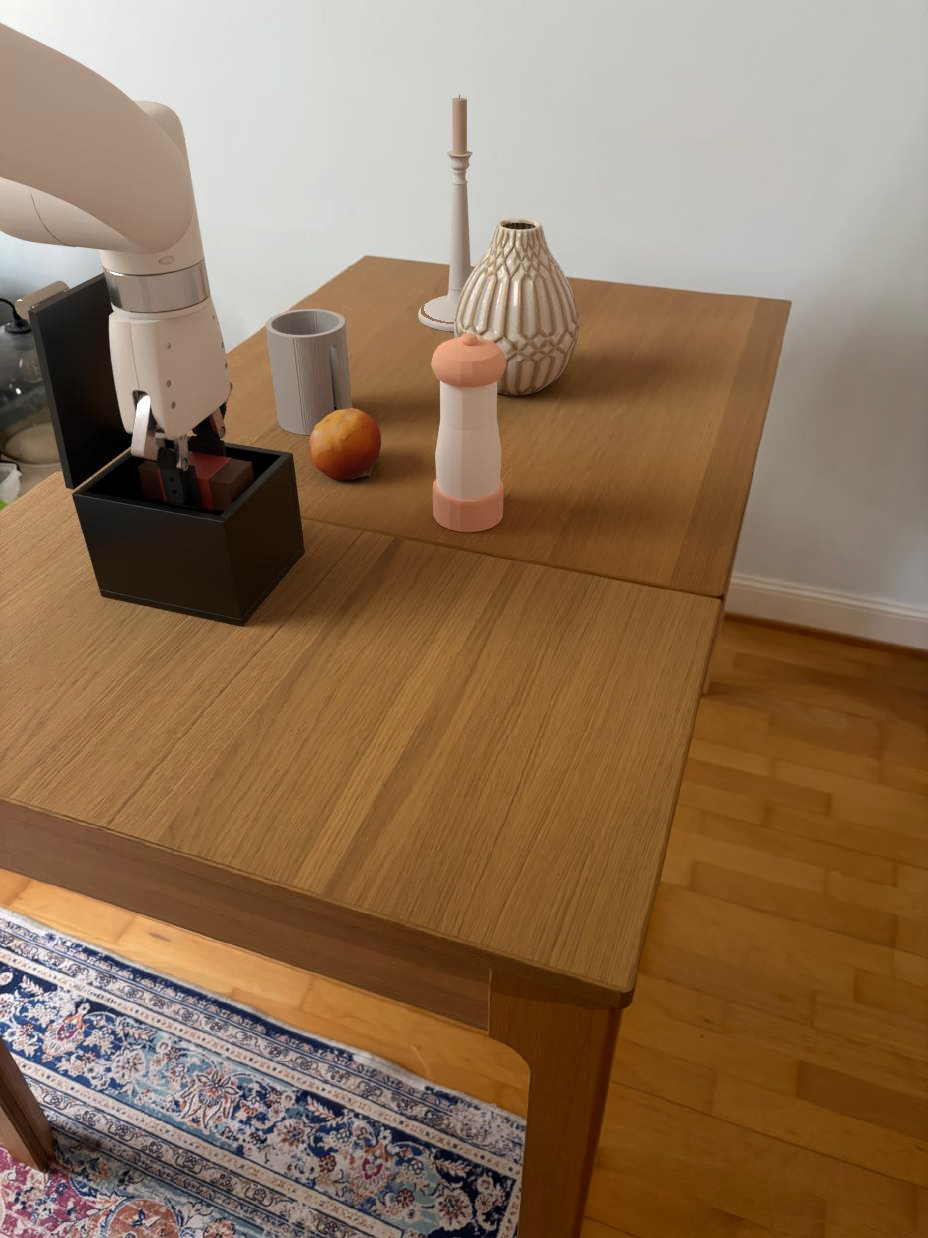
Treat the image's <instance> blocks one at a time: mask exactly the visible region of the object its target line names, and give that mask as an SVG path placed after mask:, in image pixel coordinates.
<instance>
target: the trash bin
mask: <svg viewBox="0 0 928 1238" xmlns="http://www.w3.org/2000/svg"><path fill="white" fill-rule="evenodd" d="M189 437H190V435H189V436H188V435H187V442H188V451H191V446H190V440H189ZM224 444H225V449H226V455H227V457H228V458H232V459H236V460H242V461H248V462H252V468H253V474H254V481H255V482H254V483H253V484H252V485H251V486H250V487H249V488H248V489H247V490H246V491H245V492H244V493H243V494H242V495H240V496H239V497H238V498H237V499H236V500H235V501H234V502H233V503H232V504H231V505H230V506H229V507H228V508H227V509H226V510H225V511H218V510H208V509H203V508H198V509H192V508H187V507H181V506H176V505H171V504H169V503H168V502H165V501H163V500H158V499H152V498H147V497H145V496H144V492H143V488H142V484H141V480H140V475H139V471H138V467H139V466H140V465H141V464H143V463H144V462H145V461H146V460H148V459H144V458H140V457H135V456H132V454H131V448H129V450H126V451H125V452H124V454H123V453H122V454H121V455H120V457H119V456H118V457H117V459H116V460H113V461H112V462H111V463H109V464H108V465H107V467H106V466H105V467H104V469H103V470H102V469H101V470H100V471H99V473H96V475H94V476H92V477H91V478H90V479H88V480H87V481H86V482H84V483H83V485H82V486H81V485H80V486H79V487H78V489H75V491H73V492H72V493H71V498H72V500H73V503H74V507H75V511H76V515H77V518H78V522H79V524H80V528H81V532H82V535H83V539H84V542H85V545H86V549H87V552H88V556H89V559H90V563H91V566H92V570H93V573H94V576H95V581H96V583H97V587H98V589H99V593H100V596H101V597H102V598H108V599H112V600H117V601H120V602H126V603H131V604H135V605H140V606H145V607H149V608H155V609H158V610H164V611H167V612H168V611H169V612H173V613H176V614H177V613H178V614H182V615H187V616H192V617H196V618H200V619H205V620H211V621H215V622H219V623H225V624H229V625H233V626H238V627H243V626H244V625H245V624H246V623H247V622H248V621H249V619H250V618H251V617H252V616H253V615H254V614H255V612H256V611H257V610H258V609H259V608H260V606H261V605H262V604H263V603H264V601H265V600H266V599H267V598H268V597H269V595H271V593H272V592H273V591H274V590H275V588H276V587H277V586H278V585H279V584H280V583H281V581H282V580H283V579H284V578H285V577H286V576H287V574H288V573H289V572H290V570H291V569H292V568H294V566H295V564H297V562H298V561H299V560H300V559H301V557H302V556H303V555H304V554H305V553H306V549H305V541H304V540H305V539H304V533H303V532H304V531H303V523H302V515H301V509H300V508H301V507H300V499H299V492H298V484H297V476H296V469H295V460H294V454H293V452H288V451H281V450H276V449H271V448H264V447H258V446H251V445H245V444H238V443H232V442H226V441H224ZM165 447H166V448H169V449H174V441H170V440H165Z"/></svg>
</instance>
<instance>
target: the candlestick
mask: <svg viewBox="0 0 928 1238" xmlns="http://www.w3.org/2000/svg"><path fill="white" fill-rule="evenodd" d="M451 105H452V107H451V110H452V111H451V112H452V113H451V116H452V117H451V118H452V120H451V121H452V124H451V125H452V150H451V151H447V152H446V155H447V156H448V157H449V158H450V162H449V163H450V164H449V165H450V168H451V169H452V170H453V171H452V173H453V180H452V181H451V182H452V183H451V184H452V195H451V196H452V197H451V200H452V201H451V219H450V220H451V222H450V243H449V244H450V245H449V246H450V249H449V271H448V272H449V273H448V285H447V286H448V291H447V295H443V296H438V297H436V298H432V299H430V300H429V301H428V303H427V302H425V303H424V305H425V306H424V311H425V313H426V314H427V315H429V316H430V317H432V318H434V319H437V320H441V321H445V322H454V317H455V312H456V308H457V304H458V300H459V297H460V294H461V292H462V289H463V287H464V285H465V283H466V281H467V279H468V277H469V276H470V274H471V273H472V266H471V245H470V241H471V240H470V222H469V221H470V220H469V203H468V202H469V201H468V199H469V198H468V181H467V179H466V176H467V175H466V174H467V169H469V167H470V158H471V156H473V154H474V153H473V152H472V151H469V150H468V98H466V97H461V94H459V96H458V97H454V98H451ZM421 308H422V306H421V307H420V308H419V310H418V313H417V318H418V320H419V322H420V323H422V325H424V326H427V327H428V328H430V329H434V330H438V331H442V332H443V331H444V332H453V333H454V324H446V323H440V322H436V321H432V320H430V319H428V318H426V317H424V316H423V315H422V314H421Z"/></svg>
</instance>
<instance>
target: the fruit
mask: <svg viewBox="0 0 928 1238" xmlns="http://www.w3.org/2000/svg"><path fill="white" fill-rule="evenodd" d="M308 447H309V451H310V457H311V462H312V464H313V466H314V467H315V468H316V469H317V470H318V471H319V472H321V473H322V474H323V475H325V476H327V478H328V477H329V478H330V479H333V480H336V481H353V480H355V479H359V478H363V477H368V478H372V472H373V469H374V466H375V464H376V462H377V463H381V460H378V459H379V456H380V453H381V447H382V434H381V430H380V427H379V426H378V423H377V422H376V421H375V420H374V418H373V417H372V416H371V415H369V414H367V412H365V411H364V410H362V409H359V408H354V407H352V408H350V409H343V410H337V409H336V410H334V412H333V413H331V414H329V415H327V416H326V417H325V418H324V419H323V420H322V421H320V422H319V423H318V424H316V425H315V428H314V430H313V432H312V433H311V435H309V442H308Z"/></svg>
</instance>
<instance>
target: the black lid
mask: <svg viewBox="0 0 928 1238" xmlns="http://www.w3.org/2000/svg"><path fill="white" fill-rule="evenodd" d="M14 310H15V311H16V314H17V315H18V316H19V317H20V318H22V319H23V320H26V321H28V320H29V323H30V329H31V332H32V337H33V342H34V347H35V351H36V356H37V360H38V361H37V362H38V365H39V371H40V374H41V378H42V384H43V389H44V393H45V397H46V402H47V405H48V406H47V407H48V411H49V416H50V420H51V425H52V430H53V435H54V440H55V444H56V448H57V453H58V458H59V462H60V467H61V471H62V475H63V481H64V485H65V488H66V489H69V490H72V491H74V490H77V488H79V487H81V485H82V484H85V483H86V482H87V481H89V480H90V479H91V478H93V477H94V476H95V474H98V472H100V471H102V469H103V468H106V466H108V465H110V464H111V463H112V462H114V461H115V459H116V458H117V459H118V458H119V456H121V455H123V453H125V452H127V451H128V449H131V444H132V437H133V434H130V433H127V431H126V430H125V428H124V425H123V421H122V418H121V413H120V409H119V404H118V399H117V393H116V388H115V382H114V375H113V368H112V361H111V352H110V339H109V315H110V314H112V313H113V312H114V311H113V309H112V305H111V300H110V296H109V291H108V287H107V283H106V278H105V274H104V271H103V272H101V273H99V274H97V275H95V276H93V277H91V278H89V279H87V280H85V281H82V282H81V283H79V284H77V285H75V286H74V287H71V288H70V286H69V285H68V284H67V283H66V282H65V281H62V280H57V281H54V282H52V283H50V284H48V285H46V286H44V287H41V288H40V289H37V290H36V291H34V292H31V293H29V294H27V295H25V296H23V297H21V298H19V299H17V300H16V301H15V302H14Z"/></svg>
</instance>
